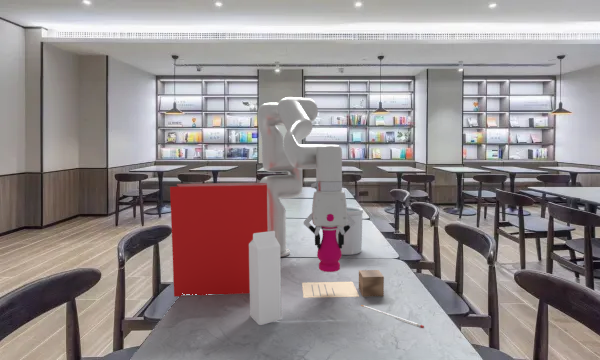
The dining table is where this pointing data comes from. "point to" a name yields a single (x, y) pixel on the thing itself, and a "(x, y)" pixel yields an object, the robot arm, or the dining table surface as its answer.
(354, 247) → the utensil holder
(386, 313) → the pencil
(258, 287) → the milk
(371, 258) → the dining table surface
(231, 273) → the book
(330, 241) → the pepper mill
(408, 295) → the dining table surface
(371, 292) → the block
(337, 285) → the letter
